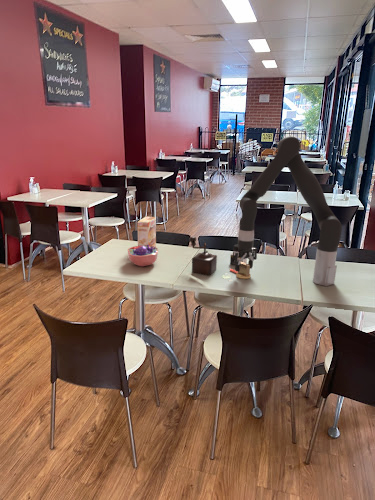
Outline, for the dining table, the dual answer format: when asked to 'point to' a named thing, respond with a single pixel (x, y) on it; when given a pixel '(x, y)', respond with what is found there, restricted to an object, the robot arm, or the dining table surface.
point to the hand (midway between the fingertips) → (243, 269)
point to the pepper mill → (203, 260)
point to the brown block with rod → (243, 271)
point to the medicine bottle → (239, 257)
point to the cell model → (143, 255)
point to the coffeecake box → (147, 231)
